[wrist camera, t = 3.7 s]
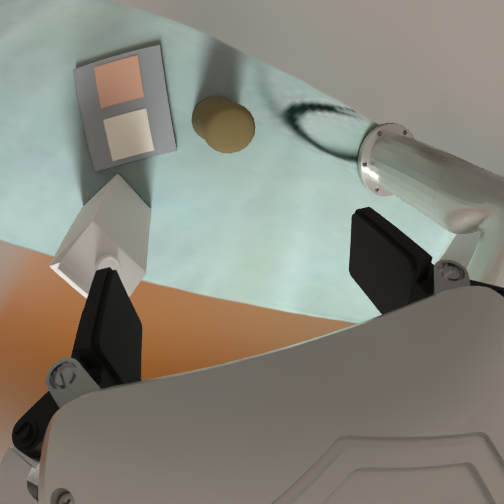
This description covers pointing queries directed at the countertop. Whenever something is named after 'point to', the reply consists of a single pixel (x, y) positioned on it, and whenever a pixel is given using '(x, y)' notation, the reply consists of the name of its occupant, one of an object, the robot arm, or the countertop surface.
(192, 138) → the countertop surface
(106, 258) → the milk carton
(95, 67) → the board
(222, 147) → the cork
